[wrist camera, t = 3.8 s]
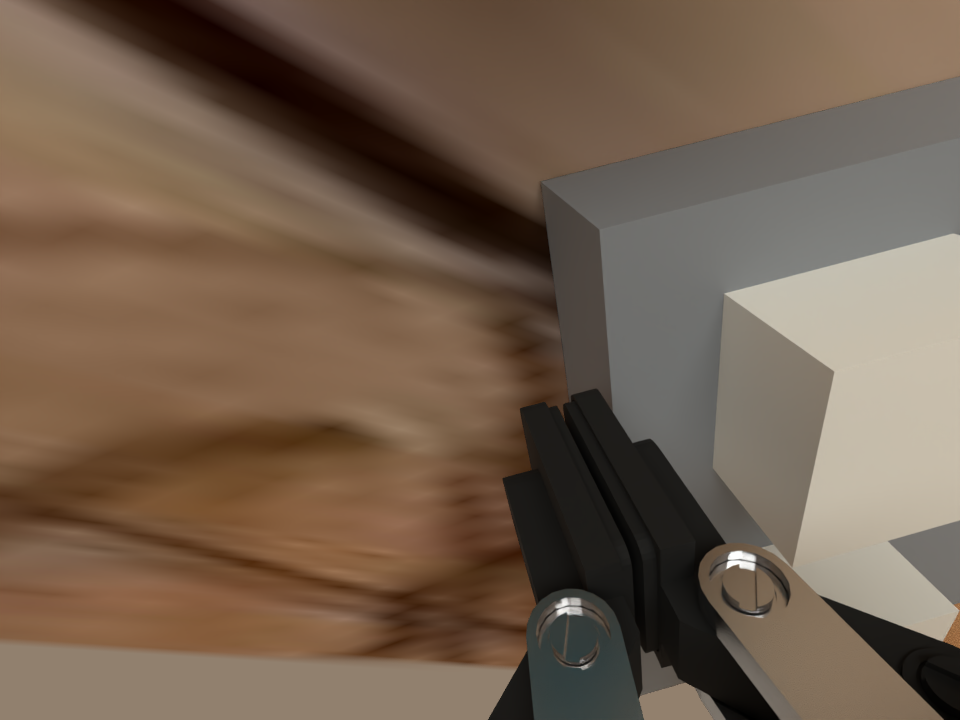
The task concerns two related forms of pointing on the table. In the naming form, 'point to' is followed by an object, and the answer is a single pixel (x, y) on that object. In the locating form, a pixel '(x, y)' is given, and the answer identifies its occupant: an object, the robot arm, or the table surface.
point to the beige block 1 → (844, 401)
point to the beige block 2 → (880, 588)
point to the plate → (738, 269)
